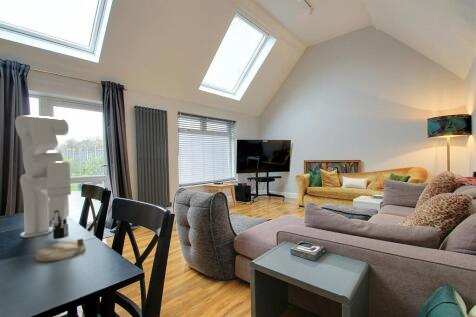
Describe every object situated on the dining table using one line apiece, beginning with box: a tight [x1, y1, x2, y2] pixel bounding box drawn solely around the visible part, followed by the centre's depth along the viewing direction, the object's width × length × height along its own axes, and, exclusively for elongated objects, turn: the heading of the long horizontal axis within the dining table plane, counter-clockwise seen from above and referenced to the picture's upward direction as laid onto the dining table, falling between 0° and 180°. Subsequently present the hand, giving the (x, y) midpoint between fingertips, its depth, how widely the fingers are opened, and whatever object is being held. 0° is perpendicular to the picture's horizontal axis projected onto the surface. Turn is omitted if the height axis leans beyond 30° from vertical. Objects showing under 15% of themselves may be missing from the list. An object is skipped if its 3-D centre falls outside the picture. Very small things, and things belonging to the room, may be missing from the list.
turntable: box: [34, 238, 86, 262], centre depth 93 cm, size 16×16×4 cm
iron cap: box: [52, 223, 70, 240], centre depth 93 cm, size 5×5×5 cm
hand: (61, 235), depth 93 cm, fingers closed on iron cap, 5 cm apart
